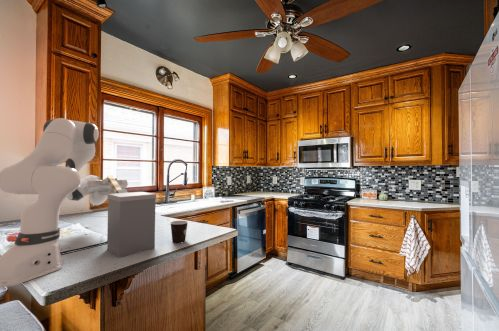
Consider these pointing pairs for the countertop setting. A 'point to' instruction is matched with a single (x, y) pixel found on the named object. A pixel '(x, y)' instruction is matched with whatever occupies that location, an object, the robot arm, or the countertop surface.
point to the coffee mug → (178, 231)
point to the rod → (115, 185)
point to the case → (131, 223)
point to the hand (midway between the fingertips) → (112, 178)
